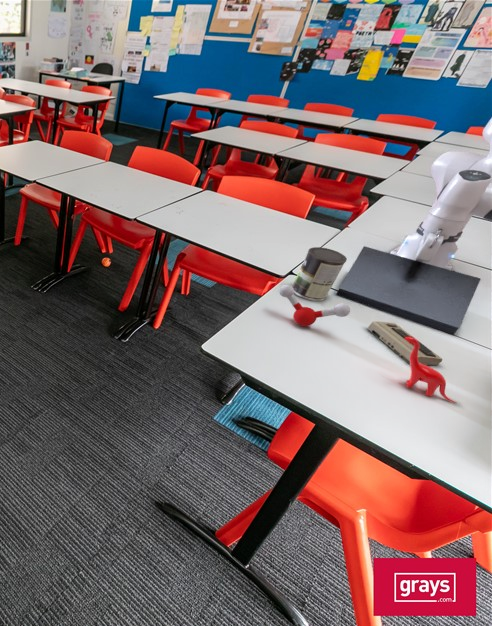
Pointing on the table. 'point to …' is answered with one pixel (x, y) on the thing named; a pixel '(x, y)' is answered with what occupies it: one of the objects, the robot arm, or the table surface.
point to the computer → (402, 342)
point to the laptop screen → (411, 286)
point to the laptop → (397, 312)
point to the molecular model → (306, 314)
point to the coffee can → (318, 273)
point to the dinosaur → (424, 373)
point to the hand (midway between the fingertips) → (415, 265)
